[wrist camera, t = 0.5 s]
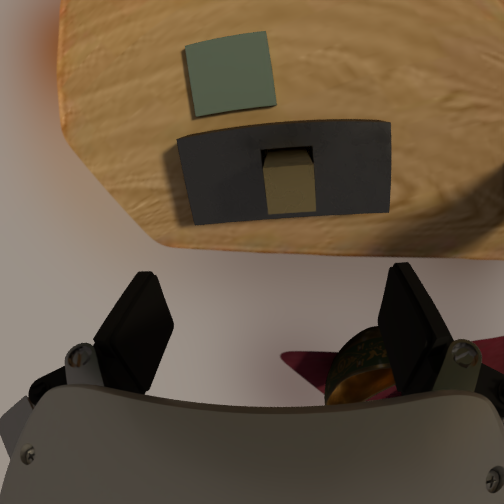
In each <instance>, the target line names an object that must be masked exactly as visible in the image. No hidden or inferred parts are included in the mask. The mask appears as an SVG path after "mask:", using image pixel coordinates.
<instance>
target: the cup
mask: <svg viewBox="0 0 504 504" xmlns="http://www.w3.org/2000/svg"><path fill="white" fill-rule="evenodd" d="M394 385H396V384H395V380H394V376H393V373H392V369H391V365H390V362H389V359H388V355H387V352H386V348H385V345H384V342H383V339H382V336H381V332H380V329H379V326H374V327H370V328H367V329H365V330H363V331H361V332H360V333H358V334H357V335H355V336H354V337H353V338H352V339H350V340H349V341H348V342H347V343H346V344H345V345H344V346H343V347H342V348H341V350H340V351H339V352H338V354H337V355H336V357H335V359H334V361H333V363H332V366H331V368H330V371H329V373H328V376H327V380H326V385H325V397H324V398H325V405H338V404H348V403H357V402H364V401H365V400H367V399H369V398H371V397H372V396H374V395H376V394H378V393H380V392H382V391H384V390H385V389H388V388H390V387H392V386H394Z"/></svg>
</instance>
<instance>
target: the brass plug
mask: <svg viewBox="0 0 504 504" xmlns="http://www.w3.org/2000/svg"><path fill="white" fill-rule="evenodd" d="M263 174H264V182H265V190H266V198H267V207H268V214H282V213H297V212H313V211H316V198H315V179H314V164H313V162H312V160H311V159H310V157H309V155H308V153H307V151H306V149H305V147H304V146H298V147H284V148H272V149H268V152H267V156H266V159H265V162H264V166H263Z"/></svg>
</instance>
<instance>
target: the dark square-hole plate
mask: <svg viewBox="0 0 504 504" xmlns="http://www.w3.org/2000/svg"><path fill="white" fill-rule="evenodd" d="M177 145H178V150H179V155H180V160H181V165H182V170H183V174H184V179H185V184H186V189H187V193H188V198H189V202H190V207H191V211H192V215H193V220H194V224H195V225H204V224H215V223H226V222H238V221H250V220H263V219H276V218H291V217H306V216H323V215H342V214H364V213H389V206H390V189H391V123H390V122H386V121H381V120H367V119H326V120H302V121H287V122H275V123H264V124H255V125H247V126H239V127H232V128H225V129H219V130H213V131H207V132H201V133H196V134H190V135H187V136H184V137H181V138H179V139H177ZM298 146H309V151H310V159H311V160H312V162H313V164H314V179H315V198H316V211H313V212H297V213H282V214H268V207H267V198H266V190H265V182H264V174H263V166H264V162H265V159H264V151H263V149H272V148H284V147H298Z"/></svg>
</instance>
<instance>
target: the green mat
mask: <svg viewBox="0 0 504 504" xmlns="http://www.w3.org/2000/svg"><path fill="white" fill-rule="evenodd" d="M185 50H186V57H187V64H188V71H189V77H190V84H191V90H192V96H193V103H194V109H195V115H196V117H197V116H203V115H208V114H213V113H219V112H225V111H232V110H239V109H246V108H254V107H263V106H273V105H277V103H276V95H275V88H274V81H273V74H272V67H271V60H270V54H269V47H268V41H267V35H266V31H261V32H253V33H246V34H239V35H233V36H227V37H222V38H217V39H212V40H207V41H203V42H198V43H194V44H190V45H187V46H185Z"/></svg>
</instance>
